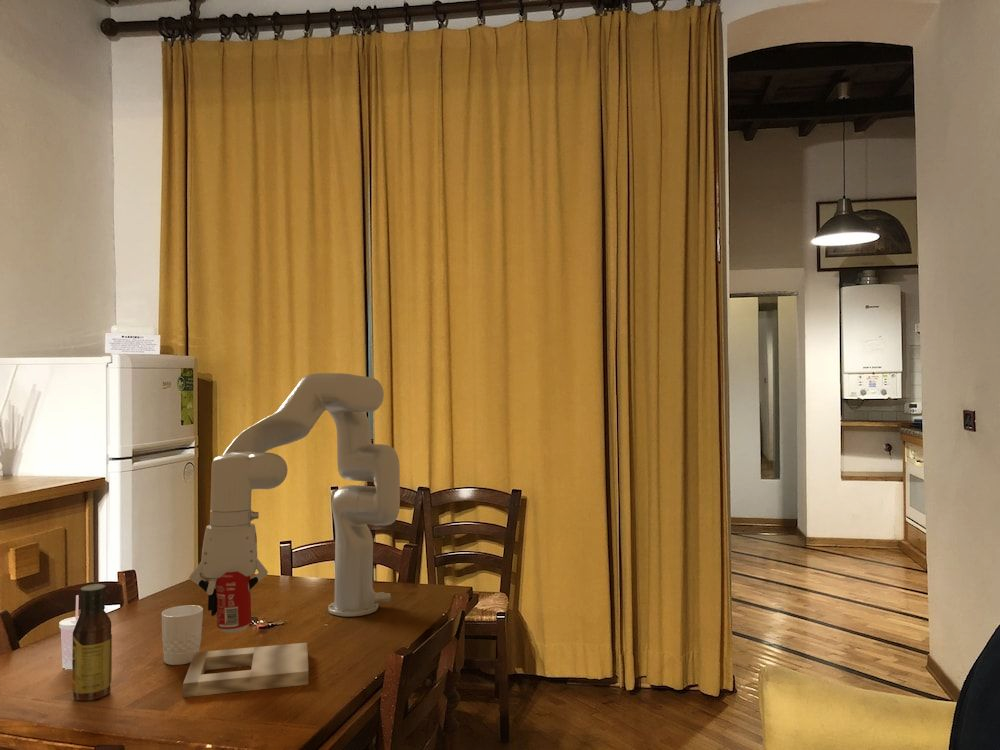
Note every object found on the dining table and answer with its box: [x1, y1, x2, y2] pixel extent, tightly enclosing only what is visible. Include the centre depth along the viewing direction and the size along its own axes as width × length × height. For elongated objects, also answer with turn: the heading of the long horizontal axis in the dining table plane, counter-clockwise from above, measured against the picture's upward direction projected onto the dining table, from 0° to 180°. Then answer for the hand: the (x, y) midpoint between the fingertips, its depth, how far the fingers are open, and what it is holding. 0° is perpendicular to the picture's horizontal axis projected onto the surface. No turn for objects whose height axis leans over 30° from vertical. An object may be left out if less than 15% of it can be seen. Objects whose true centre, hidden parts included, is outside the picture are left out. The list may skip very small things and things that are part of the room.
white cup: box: [161, 604, 204, 666], centre depth 147 cm, size 8×8×10 cm
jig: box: [182, 642, 309, 698], centre depth 139 cm, size 22×16×2 cm
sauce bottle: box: [71, 583, 113, 702], centre depth 129 cm, size 6×6×20 cm
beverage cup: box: [58, 594, 80, 670], centre depth 143 cm, size 6×6×14 cm
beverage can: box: [215, 570, 252, 634], centre depth 138 cm, size 6×6×12 cm
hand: (228, 611), depth 138 cm, fingers closed on beverage can, 4 cm apart
